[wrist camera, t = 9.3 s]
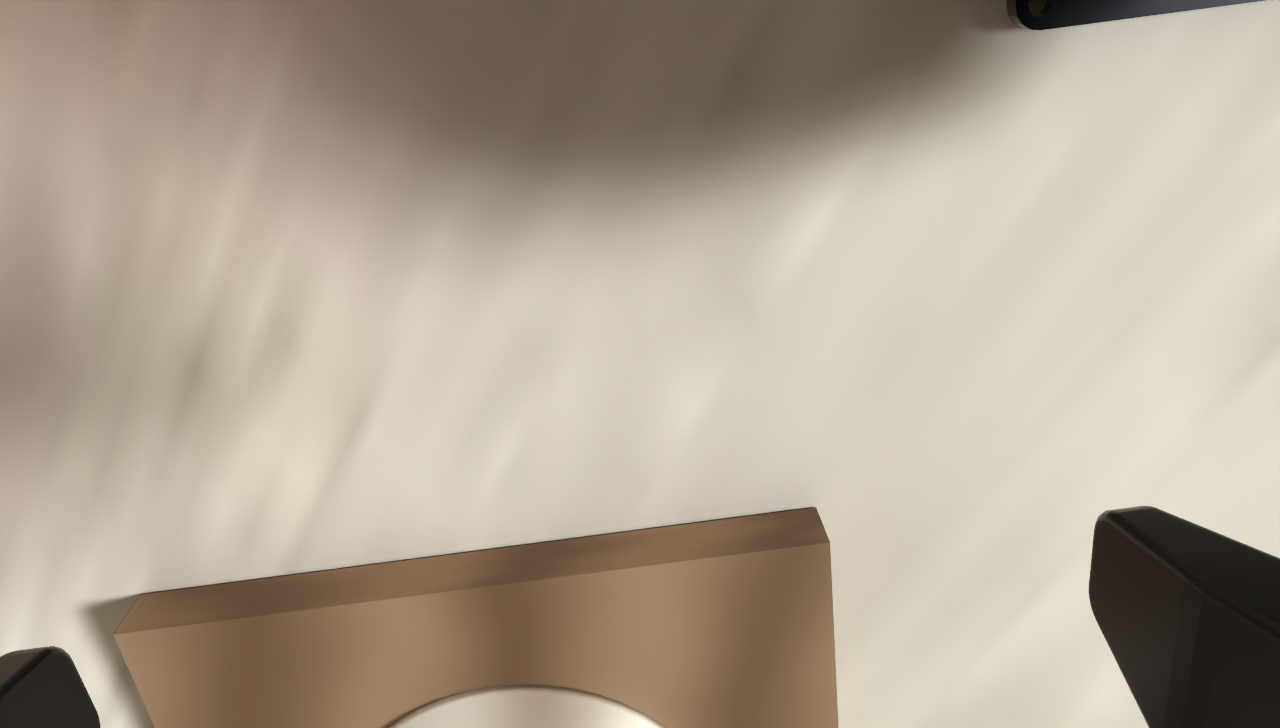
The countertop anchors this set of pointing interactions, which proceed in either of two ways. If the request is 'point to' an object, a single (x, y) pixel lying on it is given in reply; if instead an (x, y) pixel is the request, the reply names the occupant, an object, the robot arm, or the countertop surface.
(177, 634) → the walnut board
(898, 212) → the countertop surface
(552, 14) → the countertop surface
